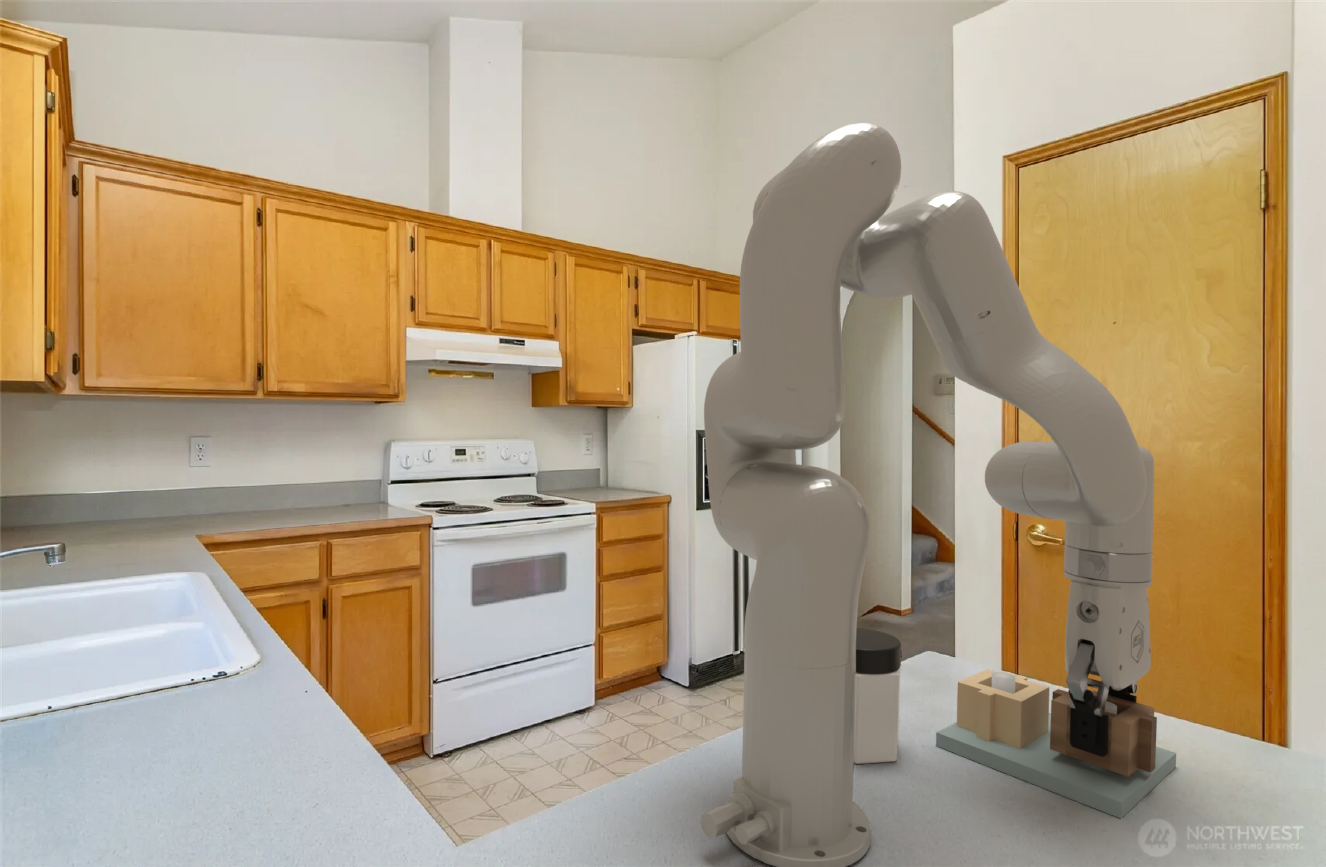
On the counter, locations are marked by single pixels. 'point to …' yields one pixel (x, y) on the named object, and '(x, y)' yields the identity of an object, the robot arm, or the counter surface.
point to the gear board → (1037, 744)
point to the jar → (876, 697)
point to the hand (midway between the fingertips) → (1103, 738)
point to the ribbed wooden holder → (1110, 735)
